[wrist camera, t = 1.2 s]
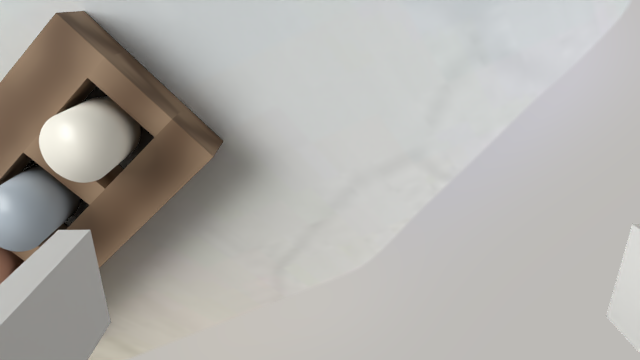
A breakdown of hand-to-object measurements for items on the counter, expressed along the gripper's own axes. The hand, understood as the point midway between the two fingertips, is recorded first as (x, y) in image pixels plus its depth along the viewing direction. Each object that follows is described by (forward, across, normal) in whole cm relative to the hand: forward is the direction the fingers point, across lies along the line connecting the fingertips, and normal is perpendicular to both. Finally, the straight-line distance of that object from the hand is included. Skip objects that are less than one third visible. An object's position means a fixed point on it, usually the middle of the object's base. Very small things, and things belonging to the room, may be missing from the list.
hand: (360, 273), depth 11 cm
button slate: (+25, -23, -9) cm, 35 cm away
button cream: (+25, -17, -3) cm, 31 cm away
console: (+27, -23, -9) cm, 37 cm away
